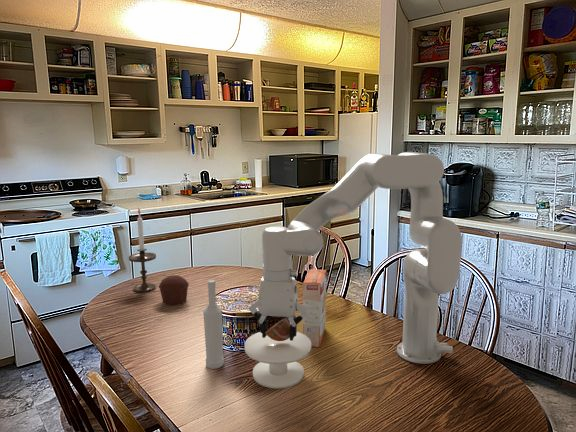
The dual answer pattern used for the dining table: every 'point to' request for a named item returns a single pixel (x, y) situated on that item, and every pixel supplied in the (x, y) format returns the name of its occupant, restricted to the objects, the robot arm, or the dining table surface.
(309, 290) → the cracker box
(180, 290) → the muffin
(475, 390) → the dining table surface
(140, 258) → the candlestick
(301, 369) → the cake stand
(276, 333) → the fruit slice
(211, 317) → the bottle
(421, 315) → the robot arm
